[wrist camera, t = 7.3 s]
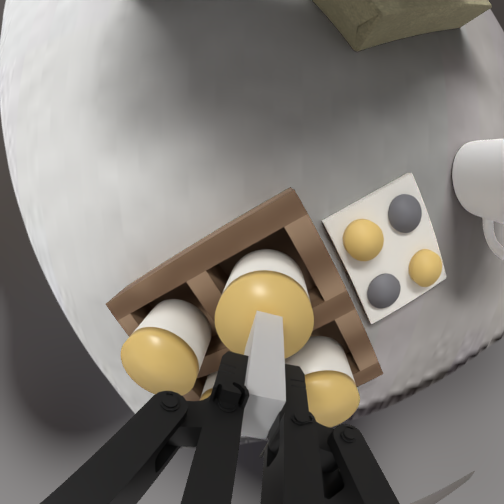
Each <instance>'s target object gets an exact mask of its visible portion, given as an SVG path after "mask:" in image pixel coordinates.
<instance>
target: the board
mask: <svg viewBox="0 0 504 504" xmlns="http://www.w3.org/2000/svg"><path fill="white" fill-rule="evenodd" d="M261 249H272V250H277V251H280V252H283V253H285V254H287V255H288V256H290V257H291V258H292V259H293V260H294V261H295V262H296V263H297V264H298V266H299V267H300V269H301V271H302V274H303V277H304V281H305V284H306V288H307V291H308V295H309V299H310V302H311V306H312V310H313V315H314V326H313V330H312V333H311V336H326V337H329V338H332V339H334V340H336V341H337V342H338V343H340V345H341V346H342V347H343V349H344V352H345V354H346V357H347V360H348V363H349V366H350V369H351V372H352V375H353V378H354V381H355V384H356V387H358V386H360V385H362V384H364V383H366V382H368V381H370V380H372V379H374V378H376V377H378V376H380V375H382V374H383V372H382V369H381V367H380V364H379V362H378V360H377V357H376V355H375V352H374V350H373V347H372V345H371V343H370V340H369V338H368V336H367V333H366V331H365V329H364V327H363V324H362V322H361V320H360V318H359V315H358V313H357V311H356V309H355V307H354V304H353V302H352V300H351V298H350V296H349V294H348V292H347V290H346V287H345V285H344V283H343V281H342V279H341V277H340V275H339V273H338V271H337V269H336V267H335V265H334V263H333V261H332V259H331V257H330V255H329V253H328V251H327V249H326V247H325V245H324V243H323V241H322V239H321V238H320V236H319V234H318V232H317V230H316V228H315V226H314V224H313V223H312V221H311V219H310V217H309V215H308V213H307V211H306V210H305V208H304V206H303V204H302V202H301V201H300V199H299V197H298V195H297V194H296V192H295V190H294V189H292V188H291V187H290V188H288V189H287V190H285V191H283V192H281V193H280V194H278V195H276V196H274V197H272V198H271V199H269V200H267V201H265V202H264V203H262V204H260V205H258V206H257V207H255V208H253V209H252V210H250V211H248V212H246V213H245V214H243V215H241V216H239V217H238V218H236V219H234V220H233V221H231V222H229V223H228V224H226V225H224V226H223V227H221V228H219V229H218V230H216V231H214V232H213V233H211V234H209V235H208V236H206V237H204V238H203V239H201V240H199V241H198V242H196V243H194V244H193V245H191V246H189V247H188V248H186V249H185V250H183V251H181V252H180V253H178V254H177V255H175V256H173V257H172V258H170V259H169V260H167V261H165V262H164V263H162V264H161V265H159V266H157V267H156V268H154V269H153V270H151V271H150V272H148V273H146V274H145V275H143V276H142V277H140V278H139V279H137V280H136V281H134V282H133V283H131V284H129V285H128V286H126V287H125V288H124V289H123V290H122V291H120V292H119V293H118V294H117V295H116V296H114V297H113V298H112V299H111V300H110V301H109V302H107V303H106V305H107V307H108V308H109V310H110V311H111V313H112V314H113V315H114V317H115V318H116V320H117V321H118V322H119V324H120V325H121V326H122V328H123V329H124V330H125V332H126V333H127V334H128V336H129V337H130V336H131V334H132V333H133V332H134V331H135V330H136V328H137V327H138V326H139V325H140V324H141V322H142V321H143V320H144V319H145V318H146V316H147V315H148V314H149V313H150V312H151V310H152V309H153V308H154V307H155V306H156V305H157V304H158V303H160V302H162V301H164V300H168V299H179V300H183V301H186V302H189V303H191V304H193V305H194V306H196V307H197V308H198V309H200V310H201V311H202V312H203V313H204V315H205V316H206V317H207V319H208V321H209V323H210V326H211V331H212V336H211V340H210V343H209V346H208V349H207V351H206V354H205V357H204V359H203V362H202V365H201V367H200V370H199V373H198V376H197V378H196V381H195V384H194V386H193V388H192V389H191V390H190V391H189V392H188V393H187V394H185V395H182V396H183V397H184V398H185V400H186V401H200V398H201V395H202V392H203V389H204V386H205V382H206V379H207V376H208V374H211V373H214V372H217V371H218V369H219V366H220V362H221V359H222V356H223V355H224V354H225V353H226V352H228V351H230V350H229V349H228V348H227V347H226V346H225V345H224V343H223V342H222V341H221V339H220V338H219V336H218V333H217V331H216V327H215V311H216V308H217V305H218V302H219V300H220V298H221V295H222V293H223V291H224V288H225V286H226V283H227V281H228V279H229V276H230V274H231V272H232V270H233V268H234V266H235V264H236V263H237V262H238V261H239V260H240V259H241V258H242V257H243V256H245V255H247V254H248V253H250V252H253V251H256V250H261ZM311 336H310V337H311ZM230 352H232V351H230Z"/></svg>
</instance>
